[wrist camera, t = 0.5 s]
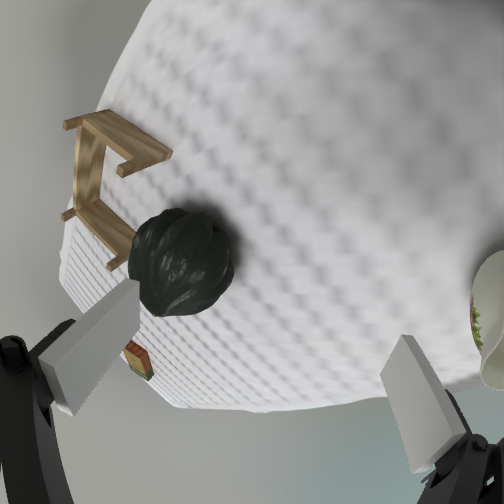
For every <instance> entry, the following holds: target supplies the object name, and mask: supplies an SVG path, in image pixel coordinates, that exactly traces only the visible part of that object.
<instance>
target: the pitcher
mask: <svg viewBox="0 0 504 504" xmlns="http://www.w3.org/2000/svg"><path fill="white" fill-rule="evenodd" d="M470 322H471V329H472V334H473V338H474V341H475V344H476V346H477V348H478V350H479V352H480V354H481V356H482V360H481V368H480V376H481V380H482V382H483V383H484V384H485V385H486V386H487V387H489V388H490V389H493V390H500V391H504V250H501V251H498V252H496V253H494V254H492V255H491V256H489V257H488V258H487V259H486V260H485V261H484V263H483V264H482V265H481V267H480V268H479V270H478V272H477V274H476V277H475V279H474V283H473V287H472V292H471V299H470Z"/></svg>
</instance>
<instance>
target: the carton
mask: <svg viewBox="0 0 504 504" xmlns="http://www.w3.org/2000/svg"><path fill="white" fill-rule="evenodd" d="M123 352H124V354H125V356H126V359H127V361H128V363H129V366H130V368H131V370H132V371H134V372H135V373H137V374H138V375H139V376H141V377H142V378H144V379H145V380H147V381H149V380H150V379H151V378H152V376H153V375H154V372H153V369H152V366H151V362H150V359H149V356H148V352H147V351H146V350H145V349H143V348H142V347H141V346H139V345H138V344H136V343H135V342H134V341H132V340H130V341H129V343H128V344H127V345H126V347H125V348H124V349H123Z"/></svg>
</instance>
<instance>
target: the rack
mask: <svg viewBox="0 0 504 504" xmlns="http://www.w3.org/2000/svg"><path fill="white" fill-rule="evenodd" d="M76 127H78V131H77V140H76V150H75V162H74V182H73V208H71V209H69V210H67V211H66V212H64V213H62V214H61V219H62V220H63V221H64V222H65V221H67V220H69V219H71V218H72V217H74V216H77V217H78V218H79V219H80V220H81V221H82V222H83V223H84V224H85V225H86V226H87V227H88V228H89V230H90V231H91V232H92V233H93V234H94V235H95V236H96V237H97V238H98V239H99V240H100V241H101V242H102V243H103V244H104V245H105V246H106V247H107V248H108V249H109V250H110V251H111V252H112V253H113V254H114V255H115V256H116V257H115V258H113V259H112V260H111V261H109V262H108V263H107V266H106V268H107V269H108V270H109V271H110V272H112V271H113V270H114V269H116V268H117V267H118V266H120V265H121V264H122V263H124V262H125V261H127V260H128V259H129V254H130V250H131V246H132V240H133V238H134V236H135V234H136V232H135V231H134V230H133V229H132V228H130V227H129V226H128V225H127V224H126V223H125V222H124V221H123V220H122V219H121V218H119V217H118V216H117V215H116V214H115V213H114V212H113V211H112V210H111V209H110V208H109V207H108V206H106V205H105V204H104V203H103V202H102V201H101V200H100V199H99V195H100V185H101V176H102V169H103V161H104V155H105V149H106V145H107V146H109V147H110V148H111V149H113V150H114V151H115V152H116V153H118V154H119V155H120V156H122V157H123V158H124V159H125V160H127V162H124V163H122V164H119V165H118V166H117V172H116V173H117V174H118V175H119V176H120V177H121V178H124V177H126V176H128V175H130V174H133V173H135V172H137V171H140V170H142V169H145V168H147V167H150V166H152V165H155V164H157V163H160V162H162V161H165V160H167V159H170V158H171V155H172V152H173V151H172V150H170V149H169V148H167V147H166V146H164V145H163V144H161V143H160V142H158V141H157V140H155V139H154V138H152V137H151V136H149V135H148V134H146V133H145V132H143V131H142V130H140V129H139V128H137V127H136V126H134V125H133V124H131V123H130V122H128V121H127V120H125V119H124V118H122V117H120V116H119V115H117V114H116V113H114V112H113V111H111V110H110V109H107V110H103V111H98V112H94V113H90V114H86V115H83V116H79V117H75V118H72V119H68V120H65V121H64V122H63V128H64V129H65V130H66V131H67V130H69V129H73V128H76Z"/></svg>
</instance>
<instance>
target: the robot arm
mask: <svg viewBox="0 0 504 504" xmlns="http://www.w3.org/2000/svg"><path fill="white" fill-rule="evenodd" d="M139 287H140V282H139V281H135V280H132V279H128V278H125V279H124V280H123V281H122V282H121V283H119V284H118V285H117V286H116V287H115V288H114V289H112V290H111V291H110V292H109V293H108V294H107V295H105V296H104V297H103V298H102V299H101V300H100V301H98V302H97V303H96V304H95V305H94V306H93V307H92V308H91V309H89V310H88V311H87V312H86V313H85V314H84V315H83V316H82V317H81V318H79V319H78V320H77V321H76V320H74V319H69V320H67V321H64V322H62V323H60V324H59V325H58V326H57V327H56V328H55V329H54V330H53V331H51V332H50V333H49V334H48V336H46V337H45V338H43V339H42V340H41V341H40V342H39V343H38V344H37V345H36V346H35V347H34V348H33V349H32V350H31V351H29V352H28V350H27V347H26V344H25V342H24V340H23V339H22V338H20V337H18V336H13V335H11V336H6V337H4V338H2V339H0V471H1V461H2V469H3V476H4V482H5V488H6V493H7V498H8V503H9V504H74V502H73V499H72V497H71V493H70V490H69V487H68V484H67V480H66V477H65V473H64V469H63V466H62V462H61V457H60V453H59V448H58V444H57V438H56V433H55V427H54V421H53V414H52V409H51V406H50V404H51V403H52V402H53V401H54V400H55V402H56V404H57V406H58V408H59V409H60V410H62V411H63V412H66V413H67V414H69V415H70V416H72V417H74V416H75V415H76V413H77V412H78V410H79V409H80V407H81V406H82V404H83V403H84V402H85V401H86V399H87V398H88V396H89V395H90V394H91V392H92V391H93V390H94V388H95V387H96V385H97V384H98V383H99V381H100V380H101V378H102V377H103V376H104V375H105V373H106V372H107V371H108V369H109V368H110V366H111V365H112V364H113V362H114V361H115V360H116V358H117V357H118V356H119V355H120V353H121V352H122V351H123V349H124V348H125V347H126V345H127V344H128V343H129V341H130V340H131V339H132V338H133V336H134V335H135V334H136V332H137V331H138V330H139V329H140V302H139ZM380 376H381V379H382V382H383V384H384V387H385V390H386V393H387V396H388V398H389V401H390V404H391V407H392V410H393V413H394V416H395V419H396V422H397V425H398V428H399V431H400V434H401V438H402V441H403V444H404V447H405V451H406V454H407V457H408V461H409V465H410V468H411V472H412V474H414V473H419V472H424V471H427V470H428V469H429V468H430V467H431V466H432V465H433V464H435V467H436V469H435V470H434V471H433V472H431V473H430V474H429V475H428V476H427V477H425V478H424V479H423V480H422V481H421V483H423V482H425V481H426V480H427V479H429V480H428V482H427V483H426V484H425V485H426V486H425V489H424V491H423V493H422V495H421V497H420V499H419V501H418V502H417V504H504V438H502V439H501V440H500V441H499V442H498V443H497V444H488V442H487V440H486V439H485V438H484V437H483V436H481V435H479V434H472V432H471V430H470V428H469V426H468V424H467V422H466V420H465V418H464V416H463V414H462V412H460V411H461V410H460V408H459V406H457V402H456V401H455V399H454V397H453V396H452V395H451V393H450V392H449V391H448V390H447V389H444V387H443V386H442V384H441V382H440V380H439V378H438V377H437V375H436V373H435V371H434V370H433V368H432V366H431V365H430V363H429V361H428V359H427V358H426V356H425V354H424V353H423V351H422V350H421V348H420V346H419V345H418V343H417V341H416V340H415V338H414V337H413V336H411V335H402V334H401V336H400V338H399V340H398V342H397V344H396V346H395V348H394V350H393V352H392V354H391V355H390V357H389V359H388V361H387V363H386V365H385V366H384V368H383V370H382V372H381V373H380ZM493 476H494V481H493V482H492V483H491V484H489V485H488V486H487V481H488V480H489V479H490V478H492V477H493Z"/></svg>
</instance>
